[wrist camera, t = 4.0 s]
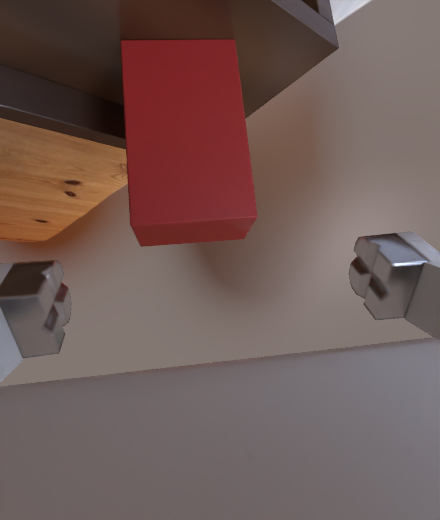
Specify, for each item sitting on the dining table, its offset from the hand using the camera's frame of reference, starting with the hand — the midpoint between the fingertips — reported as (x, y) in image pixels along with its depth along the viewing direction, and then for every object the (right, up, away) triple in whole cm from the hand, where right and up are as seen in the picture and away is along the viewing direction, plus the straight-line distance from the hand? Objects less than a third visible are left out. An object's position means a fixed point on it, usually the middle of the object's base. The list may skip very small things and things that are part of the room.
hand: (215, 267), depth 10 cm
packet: (-2, +11, +11) cm, 16 cm away
